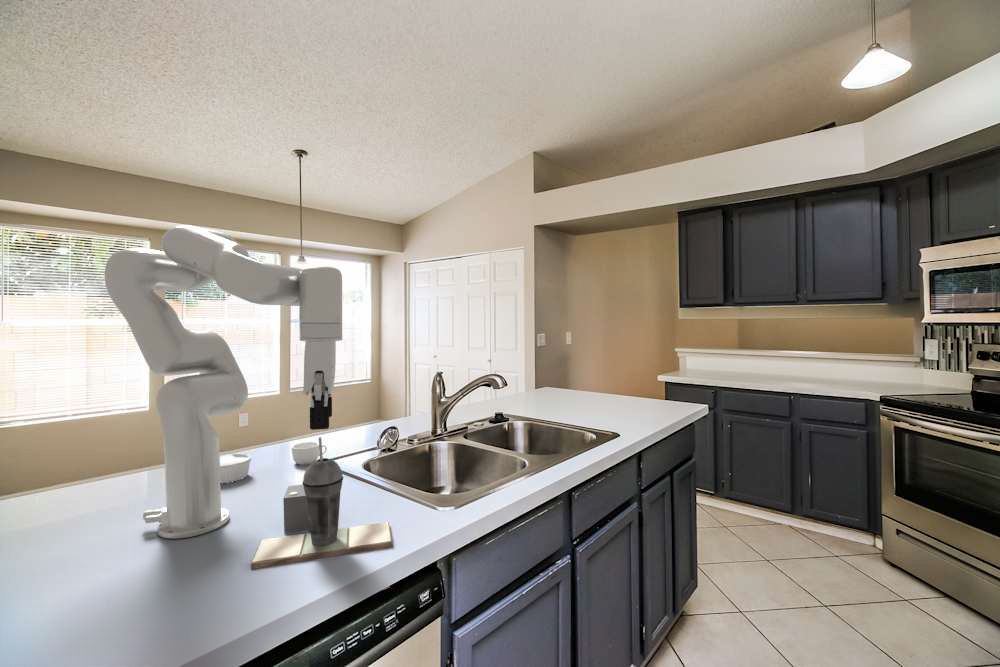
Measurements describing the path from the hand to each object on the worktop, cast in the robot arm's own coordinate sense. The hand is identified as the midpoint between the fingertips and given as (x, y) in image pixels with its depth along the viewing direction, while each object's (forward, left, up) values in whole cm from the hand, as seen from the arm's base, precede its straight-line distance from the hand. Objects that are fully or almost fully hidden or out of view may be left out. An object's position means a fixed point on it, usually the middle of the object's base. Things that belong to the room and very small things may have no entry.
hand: (321, 422), depth 86 cm
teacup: (-8, +56, -24) cm, 61 cm away
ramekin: (-28, +48, -24) cm, 60 cm away
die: (-5, +12, -24) cm, 27 cm away
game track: (0, 0, -24) cm, 24 cm away
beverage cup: (0, 0, -23) cm, 23 cm away
